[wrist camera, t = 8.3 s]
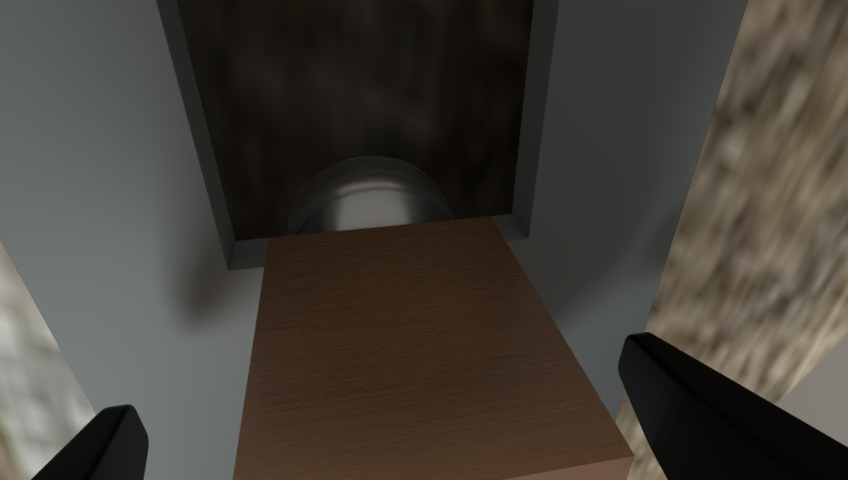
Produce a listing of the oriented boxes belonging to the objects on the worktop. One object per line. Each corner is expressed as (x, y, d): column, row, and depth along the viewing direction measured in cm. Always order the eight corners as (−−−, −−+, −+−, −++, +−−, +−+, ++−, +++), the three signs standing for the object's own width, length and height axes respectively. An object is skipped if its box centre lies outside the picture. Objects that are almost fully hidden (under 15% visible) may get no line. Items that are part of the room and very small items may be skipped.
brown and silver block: (301, 310, 15) (287, 717, 7) (273, 151, 12) (202, 533, 4) (448, 293, 15) (574, 647, 8) (452, 138, 13) (652, 453, 5)
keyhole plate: (208, 369, 18) (167, 543, 13) (2, -244, 9) (-376, -447, 4) (528, 326, 20) (601, 464, 15) (608, -219, 11) (855, -339, 6)
